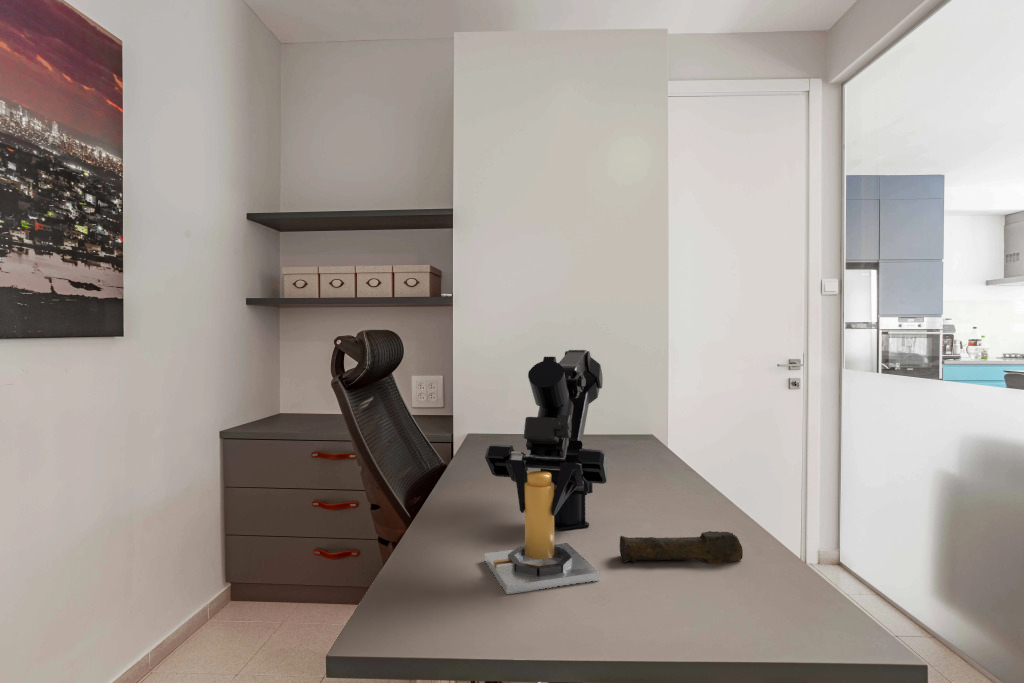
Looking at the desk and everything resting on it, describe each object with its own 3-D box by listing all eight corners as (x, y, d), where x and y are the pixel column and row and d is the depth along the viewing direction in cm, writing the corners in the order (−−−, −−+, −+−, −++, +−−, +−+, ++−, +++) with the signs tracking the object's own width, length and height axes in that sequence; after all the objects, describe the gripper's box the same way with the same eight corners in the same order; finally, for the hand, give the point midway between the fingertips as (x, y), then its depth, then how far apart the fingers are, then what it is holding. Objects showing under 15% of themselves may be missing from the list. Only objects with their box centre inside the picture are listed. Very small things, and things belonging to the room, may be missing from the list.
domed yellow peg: (553, 547, 88) (552, 470, 87) (555, 559, 83) (555, 477, 83) (524, 548, 88) (524, 470, 87) (525, 559, 83) (525, 477, 83)
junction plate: (567, 550, 93) (567, 536, 93) (599, 580, 82) (599, 565, 82) (484, 561, 89) (484, 547, 89) (506, 594, 78) (506, 578, 78)
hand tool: (621, 566, 87) (621, 536, 87) (618, 556, 91) (618, 527, 91) (748, 569, 86) (748, 539, 86) (739, 559, 90) (739, 530, 90)
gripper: (488, 394, 91) (463, 480, 81) (604, 397, 86) (594, 489, 76) (503, 434, 99) (482, 517, 89) (611, 439, 94) (602, 528, 83)
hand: (537, 512), depth 84 cm, fingers closed on domed yellow peg, 4 cm apart
